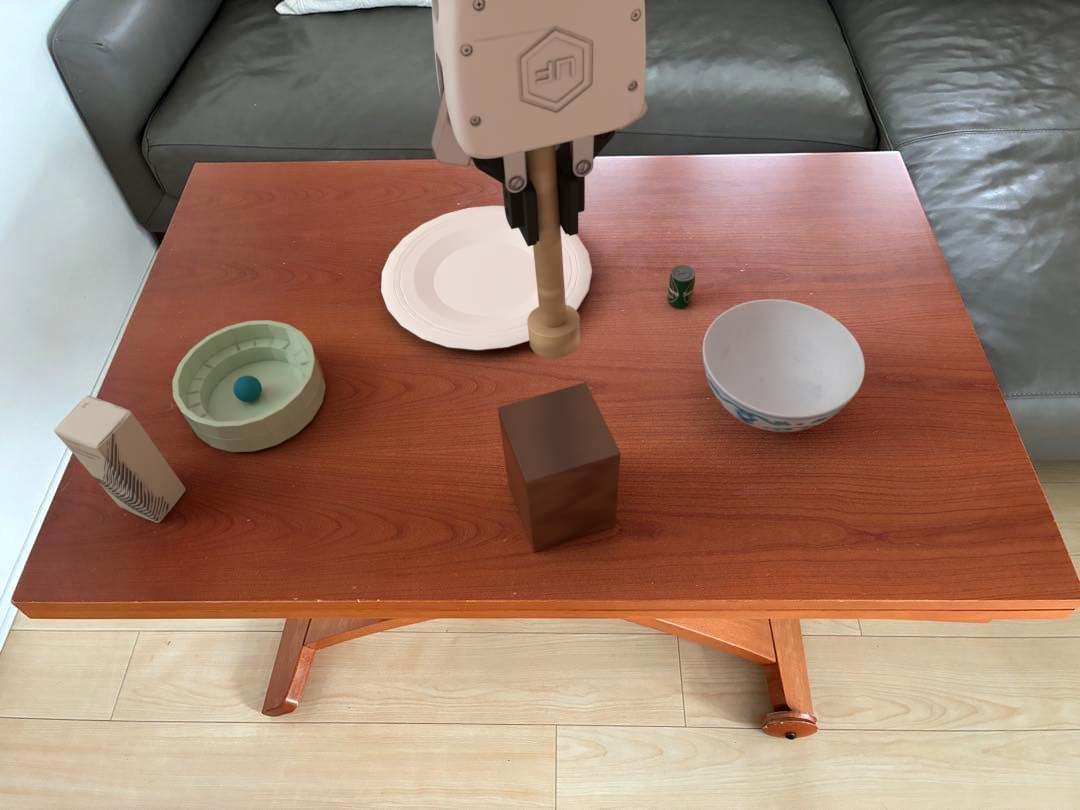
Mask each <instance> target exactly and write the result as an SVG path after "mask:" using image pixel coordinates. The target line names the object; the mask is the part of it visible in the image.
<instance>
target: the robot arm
mask: <svg viewBox="0 0 1080 810" xmlns="http://www.w3.org/2000/svg"><path fill="white" fill-rule="evenodd" d="M645 3H646V2H645V0H431V15H432V32H433V33H432V34H433V35H432V36H433V49H434V59H435V71H436V79H437V86H438V87H437V88H438V93H439V98H440V104H439V108H438V112H437V116H436V119H435V124H434V127H433V132H432V136H431V140H430V147H431V149H432V152H433V154H434V157H435V158H436V161H437V162H438V163H440V164H444V165H451V166H459V167H466V168H469V167H476V169H477V170H479V171H480V172H482V173H484V174H486V175H487V176H489V177H490V178H493V179H494V180H496V181H497V182H499V183H501V185H502V187H501V188H502V194H503V195H502V196H503V206H504V208H505V215H506V218H507V221H508V224H509V226H510V228H511V229H515V228H519V230H520V232H521V234H522V236H523V238H524V240H525V242H526V244H527V246H532V245H536V244H537V242H539V224H538V205H537V192H536V189H535V187H534V185H533V184H532V182H531V180H530V178H529V174H528V172H527V171H526V160H525V152H526V151H530V150H535V149H539V148H544V147H548V146H552V145H555V146H556V145H557V149H555V150H556V165H557V180H558V196H559V211H560V225H561V227H562V229H563V230H564V232H565V234H568V235H569V236H572V235H575V234H576V235H578V234H579V213H582V212H585V208H586V206H585V205H586V176H588V175H589V174H590V173H592V171H593V169H594V160H595V159H596V158H597V156H598V155H599V154H600V153H601V152H602V151H603V149H605V147H606V146H607V145H608V144H609V143H610V141H611V140H613V138H614V136H615V134H616V132H622V131H623V130H624V129H626V128H628V127H630V126H631V125H633V124H634V123H635V122H638V121H639V120H640V119H642V118H643V117H645V116H646V114H647V113H648V110H649V109H648V108H649V107H648V104H647V101H646V98H645V92H646V81H647V80H646V77H647V75H646V74H647V72H646V71H647V35H646V34H647V33H646V28H647V27H646V26H647V25H646V4H645Z"/></svg>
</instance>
